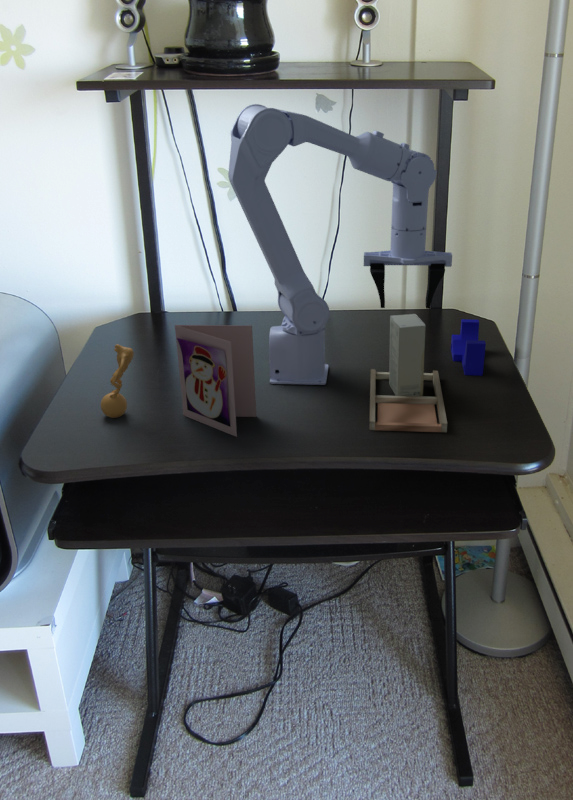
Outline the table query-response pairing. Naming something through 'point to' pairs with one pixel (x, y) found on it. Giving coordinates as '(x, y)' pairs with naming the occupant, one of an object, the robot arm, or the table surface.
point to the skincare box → (406, 355)
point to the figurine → (117, 385)
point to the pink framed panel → (407, 408)
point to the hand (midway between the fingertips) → (405, 306)
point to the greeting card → (216, 374)
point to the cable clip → (469, 348)
